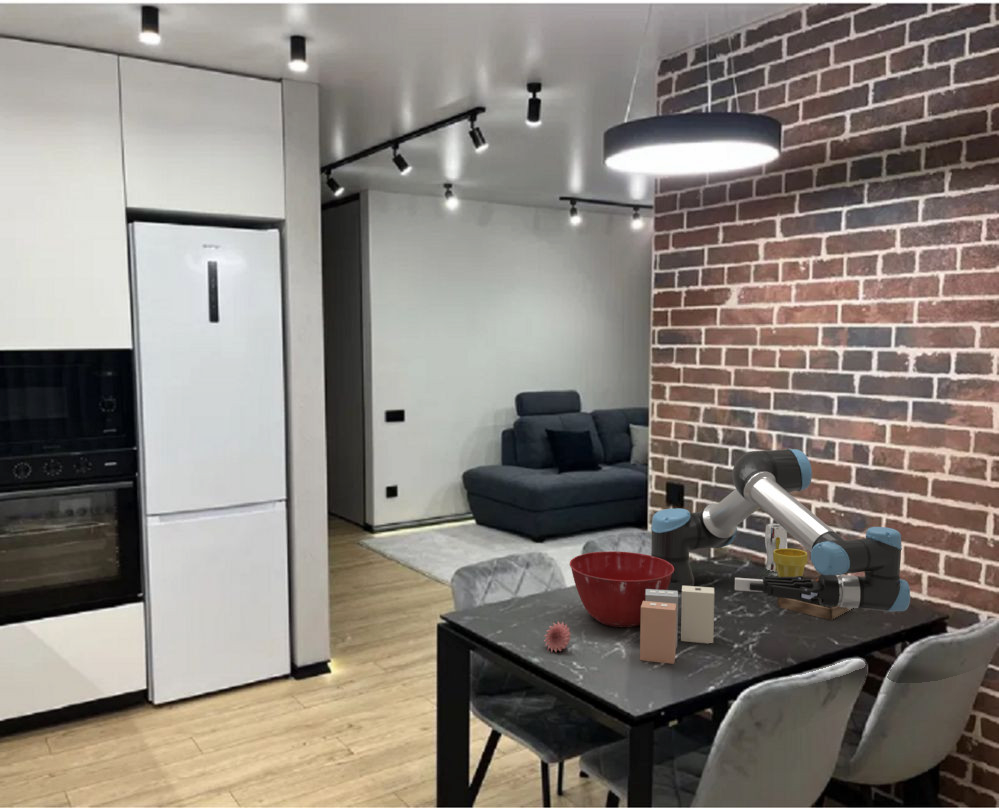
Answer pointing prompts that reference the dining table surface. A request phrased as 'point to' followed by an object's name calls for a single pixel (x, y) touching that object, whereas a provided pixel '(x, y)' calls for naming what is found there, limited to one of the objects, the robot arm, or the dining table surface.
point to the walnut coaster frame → (811, 608)
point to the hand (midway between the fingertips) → (735, 583)
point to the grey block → (664, 600)
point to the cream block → (697, 614)
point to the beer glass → (774, 543)
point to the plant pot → (790, 562)
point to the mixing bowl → (618, 584)
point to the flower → (557, 637)
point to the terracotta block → (658, 632)
